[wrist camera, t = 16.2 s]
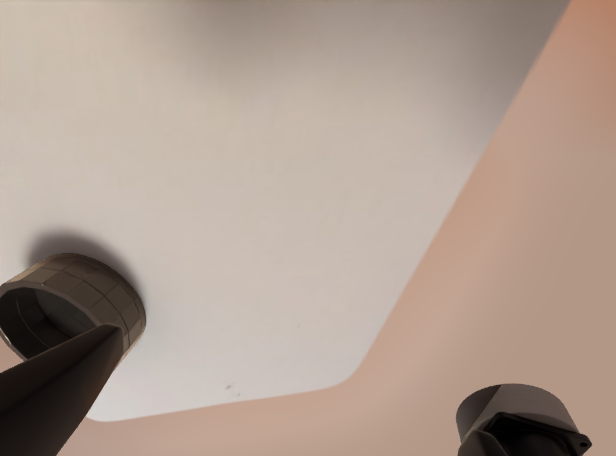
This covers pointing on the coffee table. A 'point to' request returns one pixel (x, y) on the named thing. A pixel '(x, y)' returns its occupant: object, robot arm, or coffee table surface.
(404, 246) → the coffee table surface
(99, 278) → the dark round bowl
